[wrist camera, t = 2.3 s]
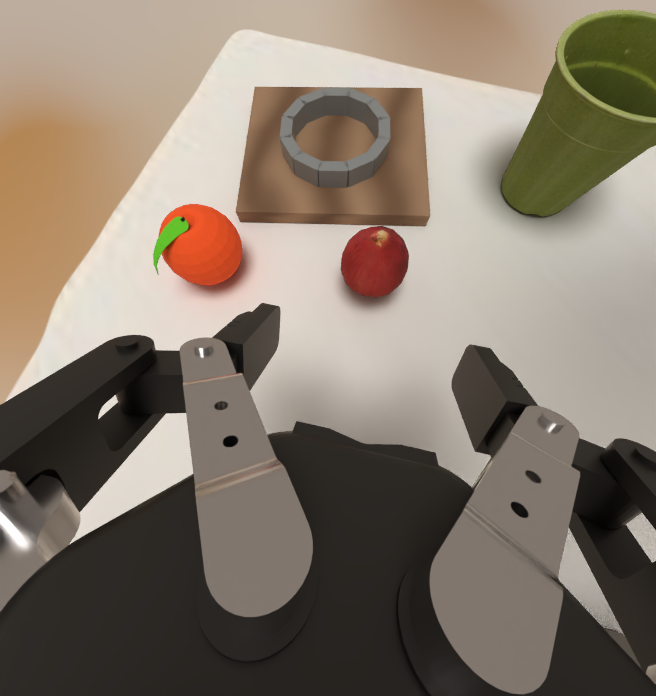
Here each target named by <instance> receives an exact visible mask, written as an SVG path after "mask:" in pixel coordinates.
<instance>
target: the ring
mask: <svg viewBox="0 0 656 696" xmlns="http://www.w3.org/2000/svg"><path fill="white" fill-rule="evenodd" d="M326 115H327V116H349V117H351V118H353V119H355V120H358V121H360V122H362V123H364V124H365V125H366V126H367V127H368V129H369V130H370V131H371V133H372V134H373V135H374V137H375V138H376V141H375V142H374V143H373V145H372V146H371V147H370V149H369V150H368V151H367V152H366V153H364V154H362V155H359V156H357V157H355V158H353V159H350V160H348V161H320V160H318V159H316V158H314V157H312V156H310V155H308V154H306V153H304V152H302V151H301V150H300V148H299V147H298V145H297V143H296V142H295V138H296V136H297V135H298V134H299V132H300V131H301V130H302V129H303V128H304V127H305V125H306V124H307V123H309V122H311V121H314V120H316V119H319V118H321V117H324V116H326ZM280 142H281V147H282V152H283V157H284V158H285V160H286V162H287V163H288V165H289V166H290V168H291V170H292V171H293V173H294V174H295V175H296V176H297V177H299V178H301V179H303V180H305V181H307V182H309V183H311V184H313V185H315V186H317V187H328V188H347V186H348V187H351V186H353V185H355V184H357V183H360V182H362V181H364V180H366V179H369V178H371V177H372V176H374V174H375V173H376V171H377V170H378V169H379V167H380V166H381V165H382V163H383V162H384V160H385V159H386V157H387V153H388V148H389V143H390V116H389V115H388V114H387V112H386V111H385V110H384V109H383V107H382V106H381V105H380V104H379V102H378V101H377V100H376V99H375V98H374V97H371V96H369V95H367V94H364V93H362V92H360V91H357V90H355V89H353V88H351V89H350V88H324V89H323V88H321V89H318V90H316V91H313V92H311V93H308V94H306V95H303V96H301V97H299V98H297V99H296V100H295V102H294V103H293V104H292V105H291V106H290V107H289V108H288V109H287V111H286V112H285V113H284V114H283V116H282V120H281V129H280Z"/></svg>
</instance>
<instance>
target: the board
mask: <svg viewBox="0 0 656 696" xmlns="http://www.w3.org/2000/svg"><path fill="white" fill-rule="evenodd" d="M321 88H323V89H324V88H338V87H255V89H254V96H253V103H252V109H251V116H250V122H249V129H248V135H247V142H246V148H245V155H244V161H243V168H242V175H241V181H240V188H239V194H238V201H237V207H236V213H237V215H238V217H239V220H240V222H268V223H312V224H357V225H402V226H426V224H427V221H428V219H429V217H430V205H429V190H428V174H427V159H426V143H425V128H424V113H423V97H422V88H353V89H355V90H357V91H360V92H362V93H364V94H367V95H369V96H371V97H374V98H375V99H376V100H377V101H378V102H379V104H380V105H381V106H382V107H383V109H384V110H385V111H386V112H387V114H388V115H389V116H390V143H389V148H388V153H387V157H386V159H385V160H384V162H383V163H382V165H381V166H380V167H379V169H378V170H377V171H376V173H375V174H374V176H372V177H371V178H369V179H366V180H364V181H362V182H360V183H357V184H355V185H353V186H351V187H348V186H347V188H328V187H317V186H315V185H313V184H311V183H309V182H307V181H305V180H303V179H301V178H299V177H297V176H296V175H295V174H294V173H293V171H292V170H291V168H290V166H289V165H288V163H287V162H286V160H285V158H284V157H283V152H282V147H281V142H280V129H281V120H282V116H283V114H284V113H285V112H286V111H287V109H288V108H289V107H290V106H291V105H292V104H293V103H294V102H295V100H296V99H297V98H299V97H301V96H303V95H306V94H308V93H311V92H313V91H316V90H318V89H321ZM350 89H351V88H350ZM375 141H376V138H375V137H374V135H373V134H372V133H371V131H370V130H369V129H368V127H367V126H366V125H365V124H364V123H362V122H360V121H358V120H355V119H353V118H351V117H349V116H327V115H326V116H324V117H321V118H319V119H316V120H314V121H311V122H309V123H307V124H306V125H305V127H304V128H303V129H302V130H301V131H300V132H299V134H298V135H297V136H296V138H295V142H296V143H297V145H298V147H299V148H300V150H301V151H302V152H304V153H306V154H308V155H310V156H312V157H314V158H316V159H318V160H320V161H348V160H350V159H353V158H355V157H357V156H359V155H362V154H364V153H366V152H367V151H368V150H369V149H370V147H371V146H372V145H373V143H374V142H375Z"/></svg>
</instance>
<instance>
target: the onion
mask: <svg viewBox="0 0 656 696" xmlns="http://www.w3.org/2000/svg"><path fill="white" fill-rule="evenodd" d="M408 260H409V254H408V250H407V247H406V245H405V242H404V240H403V238H401V237H400V236H399V235H398V234H397V233H396V232H395V231H394V230H393V229H390V228H387V227H384V226H377V227H370V228H367V229H364V230H361V231H359V232H358V233H357V234H355V235H354V236H353V237H352V238H351V239H350V240H349V241H348V243H347V245H346V247H345V250H344V252H343V254H342V261H341V271H342V275H343V277H344V280H345V282H346V284H347V285H348V286H349V287H350V288H351V289H352V290H353V291H355V292H356V293H359V294H361V295H364V296H370V297H379V296H383V295H387V294H389V293H390V292H392V291H393V290H394V289H395V288H397V287H398V286H399V285H400V284H401V283H402V281H403V279H404V277H405V274H406V272H407V269H408Z"/></svg>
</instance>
